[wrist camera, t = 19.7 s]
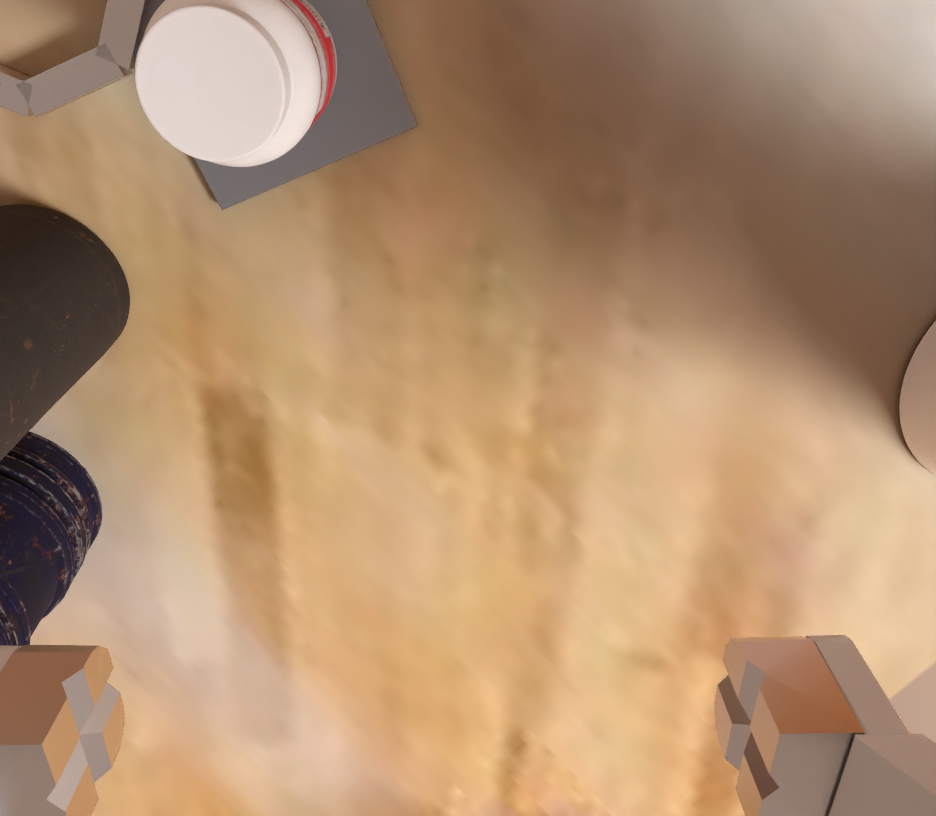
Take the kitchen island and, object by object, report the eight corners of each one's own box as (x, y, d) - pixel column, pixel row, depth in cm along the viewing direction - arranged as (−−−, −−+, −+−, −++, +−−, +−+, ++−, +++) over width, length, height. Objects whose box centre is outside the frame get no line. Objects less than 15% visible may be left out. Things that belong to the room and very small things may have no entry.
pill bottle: (200, 128, 37) (119, 179, 27) (190, -26, 34) (94, -33, 24) (339, 138, 37) (309, 191, 27) (340, -12, 34) (308, -14, 24)
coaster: (319, -115, 33) (318, -117, 33) (417, 124, 37) (417, 126, 37) (106, -13, 34) (101, -13, 34) (224, 206, 39) (221, 209, 38)
